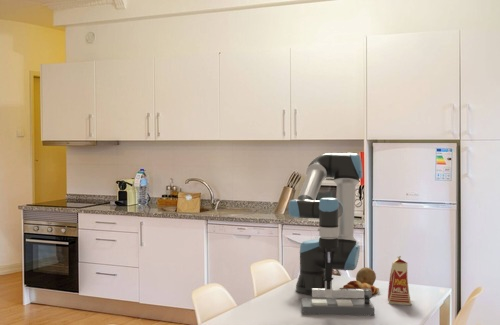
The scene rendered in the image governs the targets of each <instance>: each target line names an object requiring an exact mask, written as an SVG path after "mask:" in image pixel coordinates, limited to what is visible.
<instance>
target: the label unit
mask: <svg viewBox="0 0 500 325" xmlns="http://www.w3.org/2000/svg"><path fill="white" fill-rule="evenodd" d="M301 310H302V315H331V316H332V315H333V316H337V315H338V316H375V310H376V309H375V306H374V305H373V302H372V301H371V298H369V299H367V298H352V299H351V298H306V297H305V298H301Z"/></svg>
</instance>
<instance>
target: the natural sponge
mask: <svg viewBox="0 0 500 325" xmlns="http://www.w3.org/2000/svg"><path fill="white" fill-rule="evenodd" d="M376 278H377V273H376V272H375V271H374V270H373V269H372V268H370V267H362V268H360V269H359V270H358V271H357V273H356V276H355V281H359V282H361V283H367V284H369V285H371V286H372V285H373V286H374V284H375V281H376Z"/></svg>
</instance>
